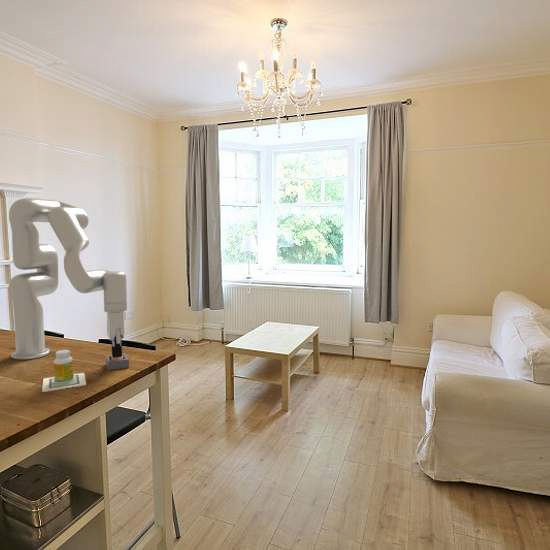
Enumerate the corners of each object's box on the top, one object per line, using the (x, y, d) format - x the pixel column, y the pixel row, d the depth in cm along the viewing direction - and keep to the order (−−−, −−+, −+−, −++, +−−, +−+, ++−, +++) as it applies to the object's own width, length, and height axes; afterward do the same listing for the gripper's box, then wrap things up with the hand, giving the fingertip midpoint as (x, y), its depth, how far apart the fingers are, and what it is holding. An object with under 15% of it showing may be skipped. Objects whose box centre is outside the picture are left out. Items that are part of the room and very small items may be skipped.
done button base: (105, 364, 144) (105, 356, 144) (126, 361, 148) (126, 353, 147) (108, 370, 138) (107, 362, 138) (129, 367, 141) (128, 359, 141)
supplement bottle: (65, 384, 124) (64, 354, 123) (50, 383, 125) (49, 353, 124) (77, 378, 129) (76, 349, 128) (63, 377, 130) (61, 348, 129)
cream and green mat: (43, 379, 129) (43, 378, 129) (84, 373, 135) (84, 372, 135) (42, 392, 119) (42, 390, 119) (86, 385, 125) (86, 383, 125)
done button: (110, 362, 144) (110, 355, 143) (122, 360, 145) (122, 354, 145) (112, 365, 140) (111, 359, 140) (124, 364, 142) (123, 357, 142)
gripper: (102, 303, 145) (103, 352, 147) (106, 311, 132) (108, 364, 134) (123, 301, 149) (125, 349, 151) (130, 309, 136) (131, 361, 138)
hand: (117, 356), depth 142 cm, fingers closed
